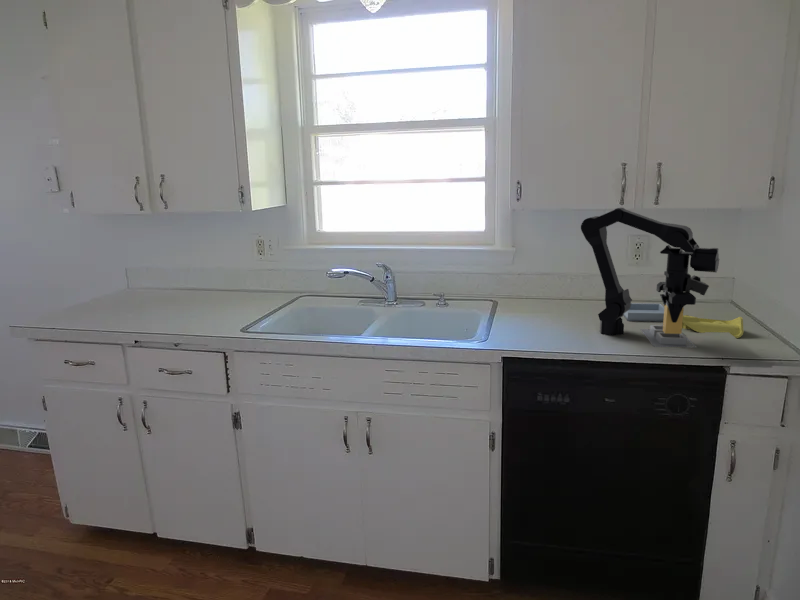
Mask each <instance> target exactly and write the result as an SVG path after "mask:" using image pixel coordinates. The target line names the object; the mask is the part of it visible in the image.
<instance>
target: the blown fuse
mask: <svg viewBox="0 0 800 600" xmlns="http://www.w3.org/2000/svg"><path fill="white" fill-rule="evenodd" d="M663 307H664V319H663V322H662V325H663V332H664V333H668V334H681V333H683V331H682V330H683V328H682V322H683V316H684V310H685V309H684V307H683V308H682V310H681V313H680V315H679V317H678V320H677V322H676V323H674V322H672V320H671V316H670V313H669V309H668V306H667V303H666V305H665V306H663Z"/></svg>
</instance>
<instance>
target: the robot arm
mask: <svg viewBox="0 0 800 600" xmlns="http://www.w3.org/2000/svg"><path fill="white" fill-rule="evenodd" d="M616 223H621V224H623V225H626V226H629V227H632V228H635V229H638V230H640V231H643V232H645V233H648V234H650V235H654V236H656V237H657V238H658V239H660V240H661V241H663V242H664V243H666V244H668V245H665V247H664V248H663V249H662V250H660V252H659V253H660V255H661V254H662V255H667V257H666V258H667V260H666V270H665V271H664V273H663V275H664V276H665V281H659V282H658V283H657V284H656V292H658V293H661V292H662V294H659V295H660V299H661V301H662V305H663V307H665V305H666V303H667V306H668V309H669V313H670V316H671V320H672V322H674V323H676V322H677V320H678V317H679V315H680V313H681V310H682V308H684V307H685V306H686V305H688V306H689V305H691V306H693V305H696V302H697V297H696V295H694V294H693V293H692V292H695V293H698V294H700V296H705V295H706V293H707V291H708V289H709V288H710V285H709V284H707V283H706V282H703V281H701V277H699V276H697V275H695V274H694V275H692V276H691V274H689V266H690V268H691V269H693V271H694V272H695V271H696V272H706V273H718V269H719V264H720V258H719V257H720V256H719V255H720V254H719V248H718V247H710V248H709V247H708V248H707V247H700V245H699V244H698V243H697V242H696V240H695V238H694V237H693V236H694V235H693V231H692V229H691V227H689V226H687V225H682V224H677V223H671V222H670V223H668V222H663V221H659V220H656V219H653V218H650V217H648V216H644V215H641V214H639V213H636V212H634V211H631V210H627V209H626V208H624V207H617V208H614V209H612V210H611V211H609V212H607V213H603V214H601V215H598V216H597V215H596V216H595V215H594V216H592V217H586V218H585V219H584V220H583V221H582V223H581V224H580V230H581V231H580V232H581V233H582V234H583V236H584V238H585V240H586V242H587V243H588V244H589V246H590V247H591V249H592V252H593V254H594V257H595V260H596V265H597V268H598V269H599V273H600V276H601V280H602V282H603V286H604V289H605V291H604V293H605V294H604V302H605V308H604V309H603V310H601V311H600V312H599V313H598V314H597V316H598V318H599V333H600V334H601V335H604V336H605V335H606V336H620V335H624V333H625V332H624V331H625V329H624V328H625V323H624V322H623V318H622V317H624V316H623V315H624V313H626V312H627V311H628V310H629V309H630V307H631V303H632V301H633V299H632V298H631V295H630V291H629V290H630V289H629V288H626V289H624V288H623V287H622V286H621V284H620V281H619V278H618V275H617V272H616V268H615V266H614V263H613V259H612V255H611V252H610V250H609V246H608V243H607V242H608V241H607V238H608V237H607V236H608V230H607V228H608V227H609V226H612V225H614V224H616ZM691 291H692V292H691Z"/></svg>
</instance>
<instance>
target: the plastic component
mask: <svg viewBox="0 0 800 600" xmlns="http://www.w3.org/2000/svg"><path fill="white" fill-rule="evenodd" d="M682 329H684V330H693V331H694V332H696V333H701V334H706V333H729V334H730V335H731V336H732V337H734V338H735V339H738V338H741V337H742V336H743V335H744V331H745V330H744V318H743V317H742V316H738V317H736V318H734V319H731V320H729V319H728V320H725V319H724V320H723V319H712V318H711V319H710V318H703V317H702V318H701V317H697V316H694V315H692V316H691V315H689V314H686V315H685V314H683V322H682Z"/></svg>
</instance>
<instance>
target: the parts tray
mask: <svg viewBox="0 0 800 600" xmlns="http://www.w3.org/2000/svg"><path fill="white" fill-rule="evenodd" d="M664 307H665V306H664V305H663V304H661V303H643V302H642V303H636V302H631V307H630V309H629V310H628V311H627V312H626V313H624V315H623V316H622V317H624V319H625V320H626V321H627V322H658V323H659V322H662V323H663V319H664Z"/></svg>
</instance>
